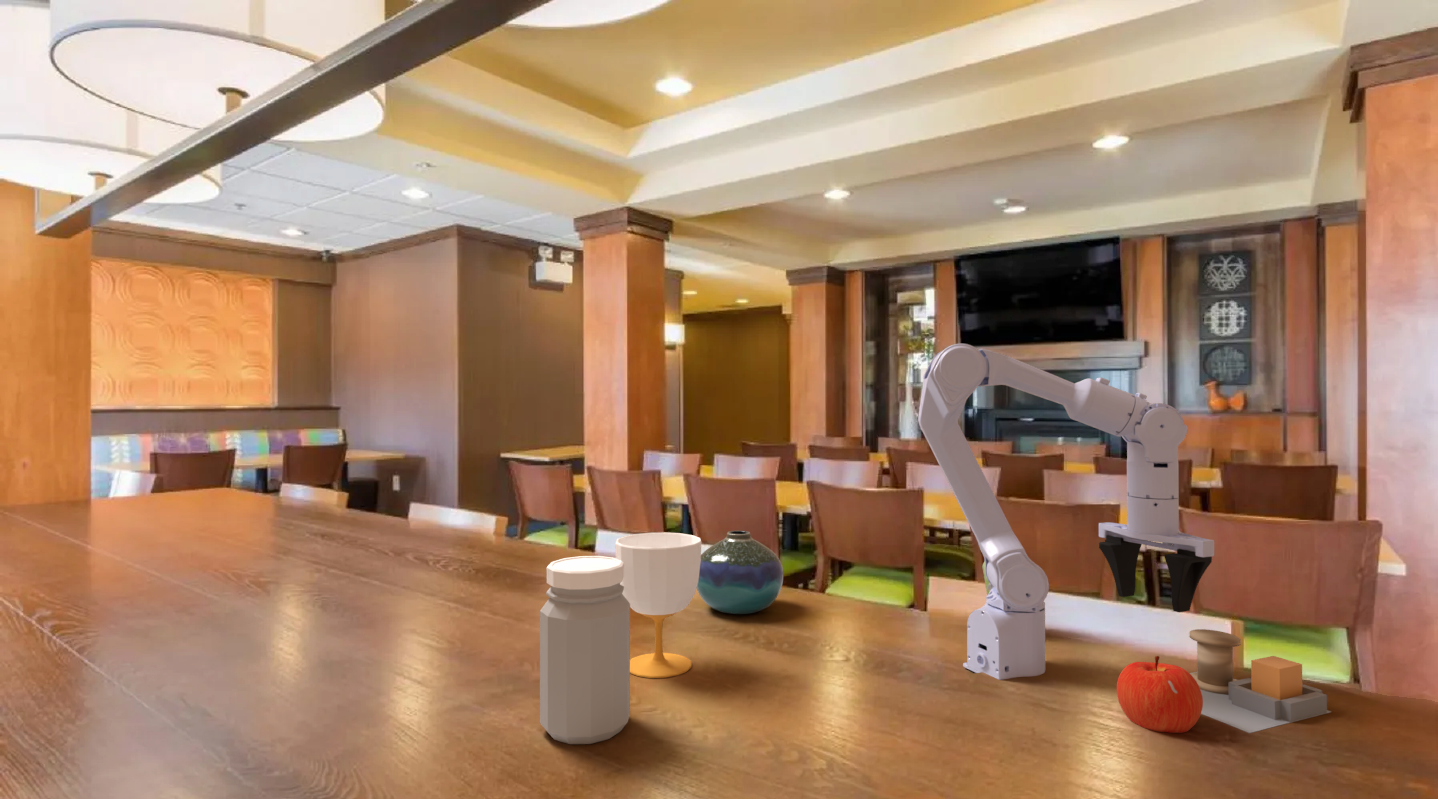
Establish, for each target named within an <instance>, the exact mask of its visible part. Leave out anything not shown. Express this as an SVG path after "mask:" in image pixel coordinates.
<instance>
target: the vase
mask: <svg viewBox="0 0 1438 799" xmlns="http://www.w3.org/2000/svg"><path fill="white" fill-rule="evenodd" d="M783 582H784V569H783V565H782V562H781V560H780V558H779V557H778V555H777V554H776V553H775V552H774V551H773V550H772V549H770V548H769V547H768V546H766V545H765V544H763V543H761V542H760V541H758V540H756V539H755V538H753V537H752V536H751V532H750V531H747V530H731V531H727V533H726V537H725V538H723V539H722V540H720V541H718V542H716V543H714V544H713V545H711V546H710V547H707V549H706V550H704V551H703V552H701V562H700V571H699V579H698V584H697V588H696V591H697V592H698V595H699V596H700V598H701V599H702V600H703V602H704V603H705V604H706V605H708V607H710V608H711V609H714V610H715V611H718V612H721V613H724V614H730V615H748V614H755V613H759V612H761V611H763V610H765V609H766V608H768V607H770V606H771V605H772V604H773V603H774V602H775V600H776V599H777V598H778V596H779V594H780V592H781V590H782V588H783V587H782V586H783Z"/></svg>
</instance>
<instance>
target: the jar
mask: <svg viewBox="0 0 1438 799" xmlns="http://www.w3.org/2000/svg"><path fill="white" fill-rule="evenodd" d="M623 578H624V562H622V561H621V560H618V559H616V557H610V556H603V555H581V556H578V555H577V556H572V557H564V558H560V559H557V560H553V561H551V562H550V563H549V564H548V565H547V567H546V584H548V585H549V586H550V587H549V588H548V590H547V591H546V593H545V595H546V596H547V597H548V599H547V601H546V602H545V603H544V605H543V606H542V607H541V609H540V610H539V724H540V725H541V727H542V728H544V730H545V731H546V732H547V733H548V734H549V735H550V736H551V738H553V740H554V741H557V742H561V743H565V744H567V745H591V744H595V743H599V742H603V741H606V740H609V739H611V738H612V737H614V736H615V735H617V734H620V732H621V731H622V730H623V729H624V727H625V726H626V725H627V724H628V723H629V718H630V714H631V674H630V659H631V608H630V603H629V602H628V600H627V599H626V598H625V597H624V595H623V594H622V593H623V590H624V586H622V585H620V583H621V582H622V580H623Z"/></svg>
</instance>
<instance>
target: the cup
mask: <svg viewBox="0 0 1438 799" xmlns="http://www.w3.org/2000/svg"><path fill="white" fill-rule="evenodd" d="M614 544H615V546H614V547H615V558H616V559H618V560H621V561H622V562H624V578H623V580H622V582H621V583H620V585H622V586H624V590H623V593H622V594H623V595H624V597H625V598H626V599H627V600H628V602H629V603H630V609H632V611H633V612H635V613H638V614H640V615H641V616H644V617H647V618H649V619H652V620H653V622H654V652H653V653H652V652H651V653H645V654H640V655H637V656H635V657H632V658H630V675H634V676H637V677H640V678H647V679H666V678H672V677H677V676H680V675H682V674H685V673H687V672H688V671H689V670H690V669H691V668H692V667H693V666H692V661H691V660H690V659H689V658H687V656H684V655H681V654H678V653H670V652H664V651H663V647H664V646H663V624H664V621H665V619H667V618H669V617H672V616H674V615H676V614H678V613H680V612H682V611H684V610H685V609H686V608H687V606H689V605H690V603H691V602H692V599H694V596H695V594H696V591H697V584H698V579H699V571H700V562H701V554H702V540H701V537H698V536H696V535H694V534H693V535H692V534H688V533H680V532H645V533H634V534H630V535H625V536H622V537H618V538H616V541H615V542H614Z"/></svg>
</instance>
